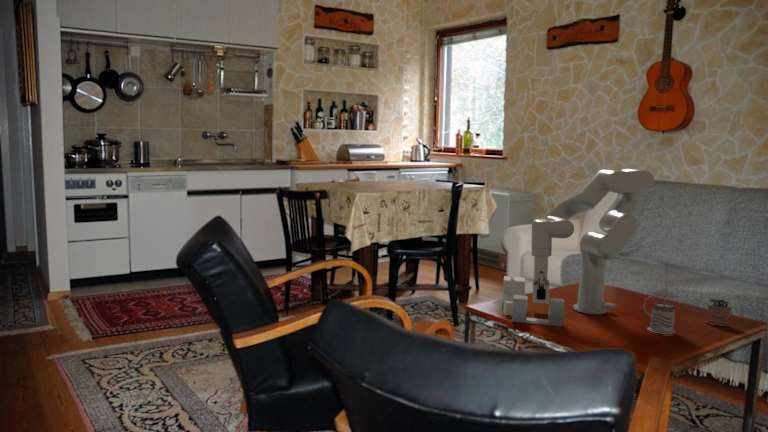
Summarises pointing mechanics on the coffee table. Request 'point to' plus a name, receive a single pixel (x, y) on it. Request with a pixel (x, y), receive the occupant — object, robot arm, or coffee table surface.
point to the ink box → (512, 287)
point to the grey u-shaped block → (520, 316)
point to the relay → (508, 307)
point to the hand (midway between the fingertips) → (540, 296)
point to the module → (535, 287)
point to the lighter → (718, 312)
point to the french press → (660, 325)
